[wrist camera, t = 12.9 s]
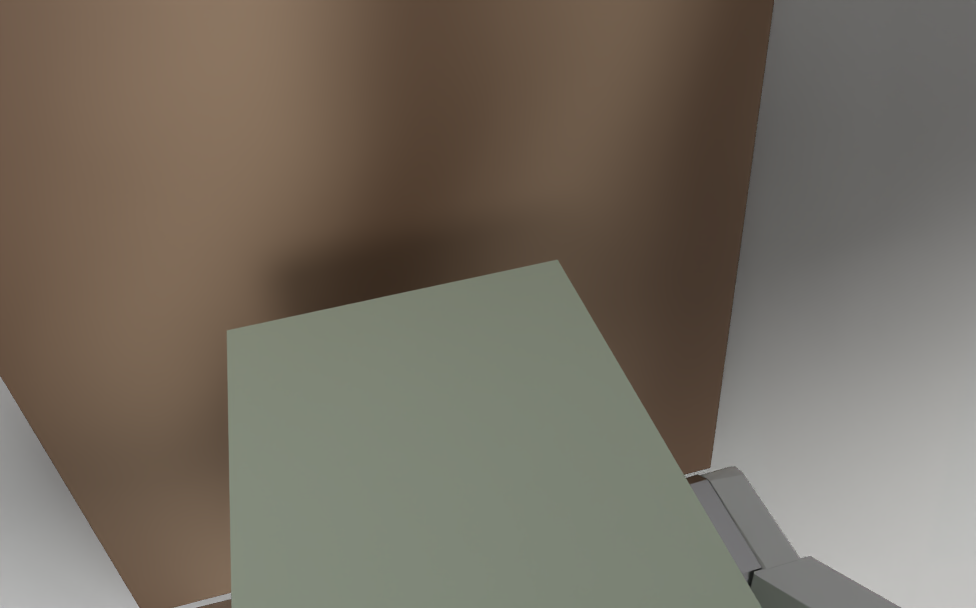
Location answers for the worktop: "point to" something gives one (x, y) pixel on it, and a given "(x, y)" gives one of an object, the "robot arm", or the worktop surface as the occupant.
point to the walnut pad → (345, 210)
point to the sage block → (457, 461)
